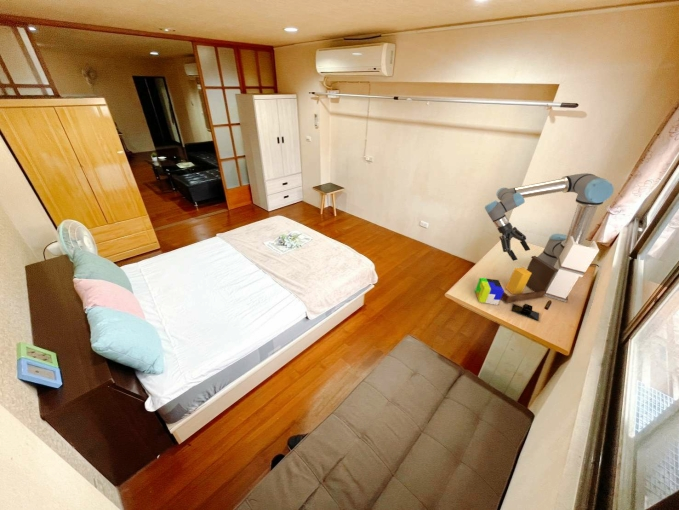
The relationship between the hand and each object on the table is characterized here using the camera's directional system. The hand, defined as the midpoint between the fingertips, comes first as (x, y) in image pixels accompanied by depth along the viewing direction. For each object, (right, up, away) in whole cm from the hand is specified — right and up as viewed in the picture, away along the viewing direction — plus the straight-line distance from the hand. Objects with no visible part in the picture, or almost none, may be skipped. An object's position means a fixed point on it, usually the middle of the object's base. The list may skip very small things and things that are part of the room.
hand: (521, 255), depth 159 cm
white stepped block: (+19, -23, -1) cm, 30 cm away
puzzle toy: (-25, -25, -5) cm, 36 cm away
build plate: (-9, -32, -15) cm, 36 cm away
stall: (-5, -22, 0) cm, 23 cm away
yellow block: (-5, -22, 0) cm, 22 cm away
